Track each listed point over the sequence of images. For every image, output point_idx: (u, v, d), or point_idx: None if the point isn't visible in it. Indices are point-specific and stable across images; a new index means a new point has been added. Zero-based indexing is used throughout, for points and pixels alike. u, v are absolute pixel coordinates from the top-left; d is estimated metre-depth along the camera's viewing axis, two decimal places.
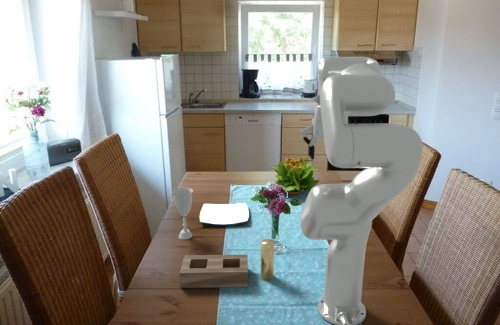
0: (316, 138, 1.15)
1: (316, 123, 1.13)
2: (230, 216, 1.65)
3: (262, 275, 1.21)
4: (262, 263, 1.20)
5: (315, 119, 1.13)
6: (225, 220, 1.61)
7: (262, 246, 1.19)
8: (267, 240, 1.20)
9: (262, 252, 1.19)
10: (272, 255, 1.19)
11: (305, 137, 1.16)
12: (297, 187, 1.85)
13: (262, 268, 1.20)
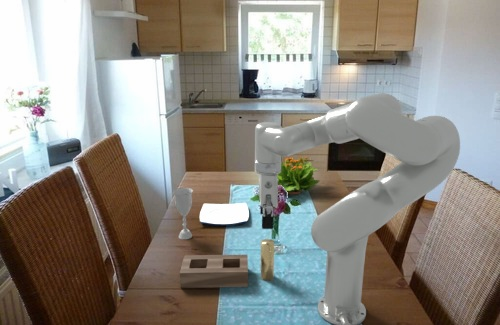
0: None
1: (277, 191, 1.10)
2: (230, 216, 1.65)
3: (262, 275, 1.21)
4: (262, 263, 1.20)
5: (276, 188, 1.10)
6: (225, 220, 1.61)
7: (262, 246, 1.19)
8: (267, 240, 1.20)
9: (262, 252, 1.19)
10: (272, 255, 1.19)
11: (271, 210, 1.09)
12: (297, 187, 1.85)
13: (262, 268, 1.20)
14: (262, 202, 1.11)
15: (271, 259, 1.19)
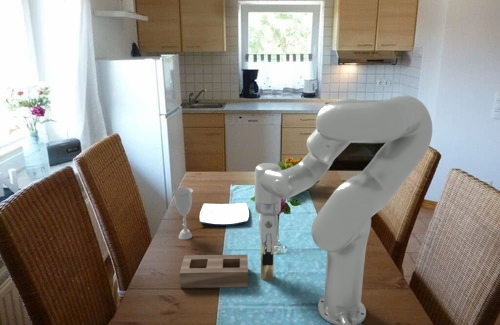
0: (277, 244, 1.15)
1: (277, 230, 1.13)
2: (230, 216, 1.65)
3: (262, 275, 1.21)
4: None
5: (276, 227, 1.13)
6: (225, 220, 1.61)
7: (262, 246, 1.19)
8: None
9: (262, 252, 1.19)
10: None
11: (270, 249, 1.15)
12: None
13: (262, 268, 1.20)
14: (263, 241, 1.14)
15: None
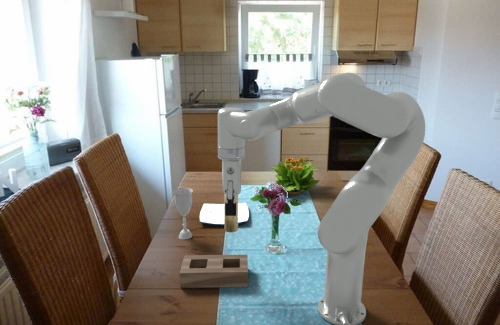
0: (239, 192, 1.10)
1: (239, 177, 1.09)
2: None
3: (225, 227, 1.17)
4: None
5: (238, 174, 1.08)
6: None
7: (225, 195, 1.14)
8: None
9: None
10: (236, 205, 1.15)
11: (232, 197, 1.10)
12: (297, 187, 1.85)
13: (225, 219, 1.16)
14: (224, 188, 1.09)
15: None
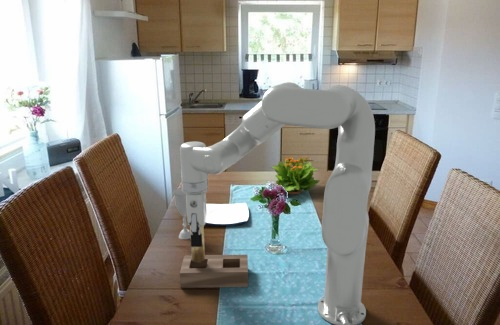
0: (204, 224, 1.13)
1: (203, 210, 1.11)
2: (230, 216, 1.65)
3: (192, 257, 1.19)
4: None
5: (201, 207, 1.11)
6: (225, 220, 1.61)
7: (190, 227, 1.16)
8: None
9: None
10: None
11: (197, 229, 1.12)
12: (297, 187, 1.85)
13: (192, 249, 1.18)
14: (188, 221, 1.12)
15: None
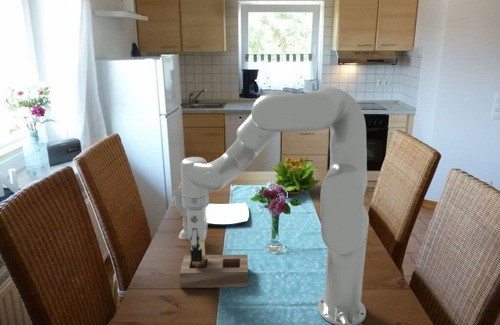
0: (204, 239, 1.14)
1: (203, 225, 1.12)
2: (230, 216, 1.65)
3: None
4: None
5: (201, 222, 1.12)
6: (225, 220, 1.61)
7: None
8: (198, 238, 1.19)
9: None
10: (202, 253, 1.18)
11: (197, 244, 1.12)
12: (297, 187, 1.85)
13: (193, 266, 1.20)
14: (189, 236, 1.13)
15: None
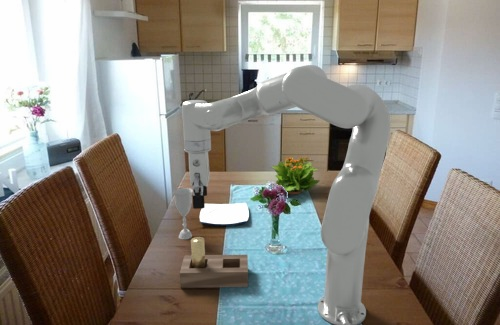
0: (207, 184, 1.10)
1: (206, 169, 1.09)
2: (230, 216, 1.65)
3: None
4: (192, 261, 1.19)
5: (204, 166, 1.08)
6: (225, 220, 1.61)
7: (191, 244, 1.18)
8: (198, 238, 1.20)
9: (192, 250, 1.18)
10: (202, 253, 1.18)
11: (199, 188, 1.07)
12: (297, 187, 1.85)
13: (193, 266, 1.20)
14: (191, 181, 1.09)
15: (201, 257, 1.19)
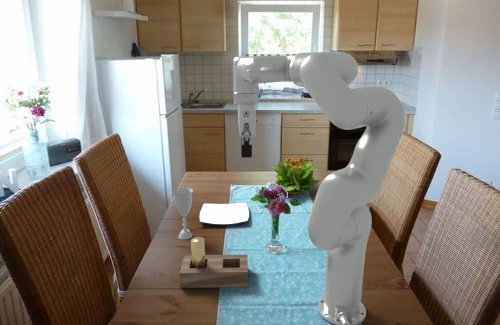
0: (255, 135, 1.19)
1: (254, 120, 1.17)
2: (230, 216, 1.65)
3: None
4: (192, 261, 1.19)
5: (253, 117, 1.17)
6: (225, 220, 1.61)
7: (191, 244, 1.18)
8: (198, 238, 1.20)
9: (192, 250, 1.18)
10: (202, 253, 1.18)
11: (249, 137, 1.16)
12: (297, 187, 1.85)
13: (193, 266, 1.20)
14: (241, 131, 1.18)
15: (201, 257, 1.19)
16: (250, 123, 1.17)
